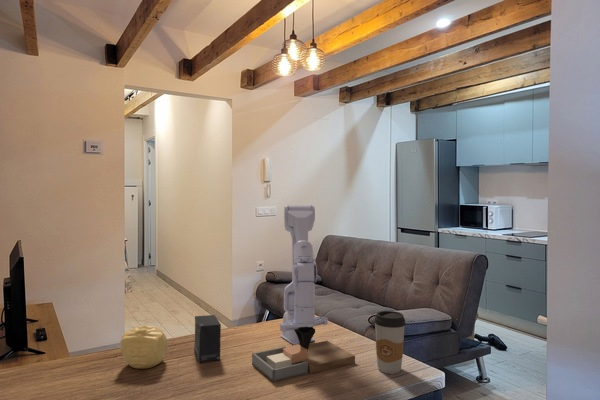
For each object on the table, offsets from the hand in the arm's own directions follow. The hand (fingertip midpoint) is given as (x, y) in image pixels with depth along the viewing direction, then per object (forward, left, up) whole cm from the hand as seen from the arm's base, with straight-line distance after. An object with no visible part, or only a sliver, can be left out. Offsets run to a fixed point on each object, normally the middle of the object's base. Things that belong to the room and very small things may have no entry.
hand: (304, 353), depth 116 cm
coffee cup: (+15, +18, -3) cm, 24 cm away
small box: (-19, -22, -3) cm, 29 cm away
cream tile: (0, -8, -2) cm, 8 cm away
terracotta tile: (0, -3, -1) cm, 3 cm away
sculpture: (-21, -39, -3) cm, 44 cm away
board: (0, +5, -3) cm, 6 cm away
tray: (0, -8, -3) cm, 8 cm away
